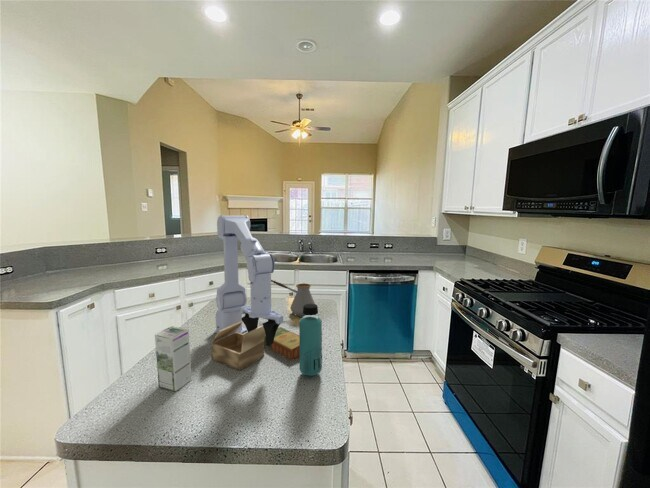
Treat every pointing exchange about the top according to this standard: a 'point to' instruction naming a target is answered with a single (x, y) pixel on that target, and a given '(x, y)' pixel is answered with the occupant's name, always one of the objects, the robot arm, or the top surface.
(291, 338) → the carton
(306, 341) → the beverage bottle
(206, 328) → the top surface
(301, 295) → the coffee pot
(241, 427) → the top surface
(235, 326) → the flap
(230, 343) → the cardboard box
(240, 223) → the robot arm
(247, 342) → the flap
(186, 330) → the syrup box
